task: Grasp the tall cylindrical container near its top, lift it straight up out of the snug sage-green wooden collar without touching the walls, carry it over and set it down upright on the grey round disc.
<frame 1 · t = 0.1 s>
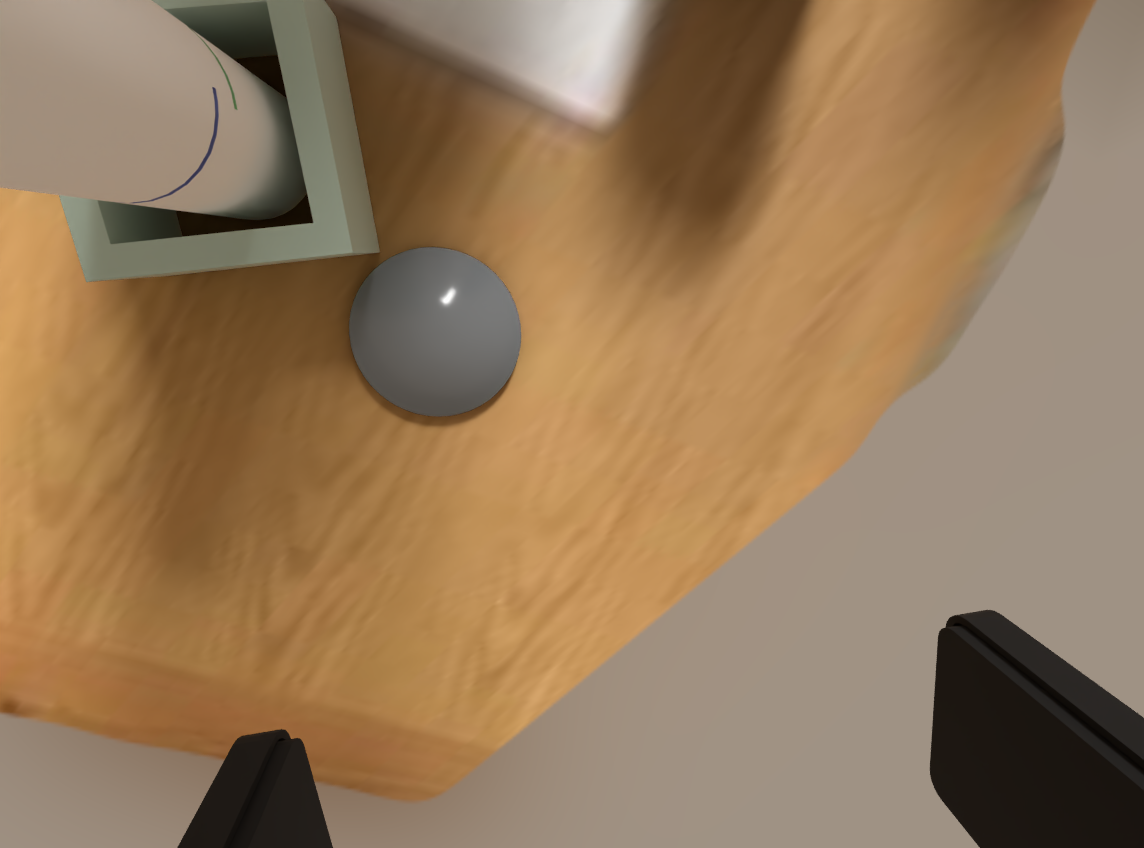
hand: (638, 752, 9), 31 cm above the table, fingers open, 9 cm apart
collar: (247, 151, 34), on the table
grey round disc: (437, 333, 38), on the table
cylindrical container: (249, 152, 34), resting in collar
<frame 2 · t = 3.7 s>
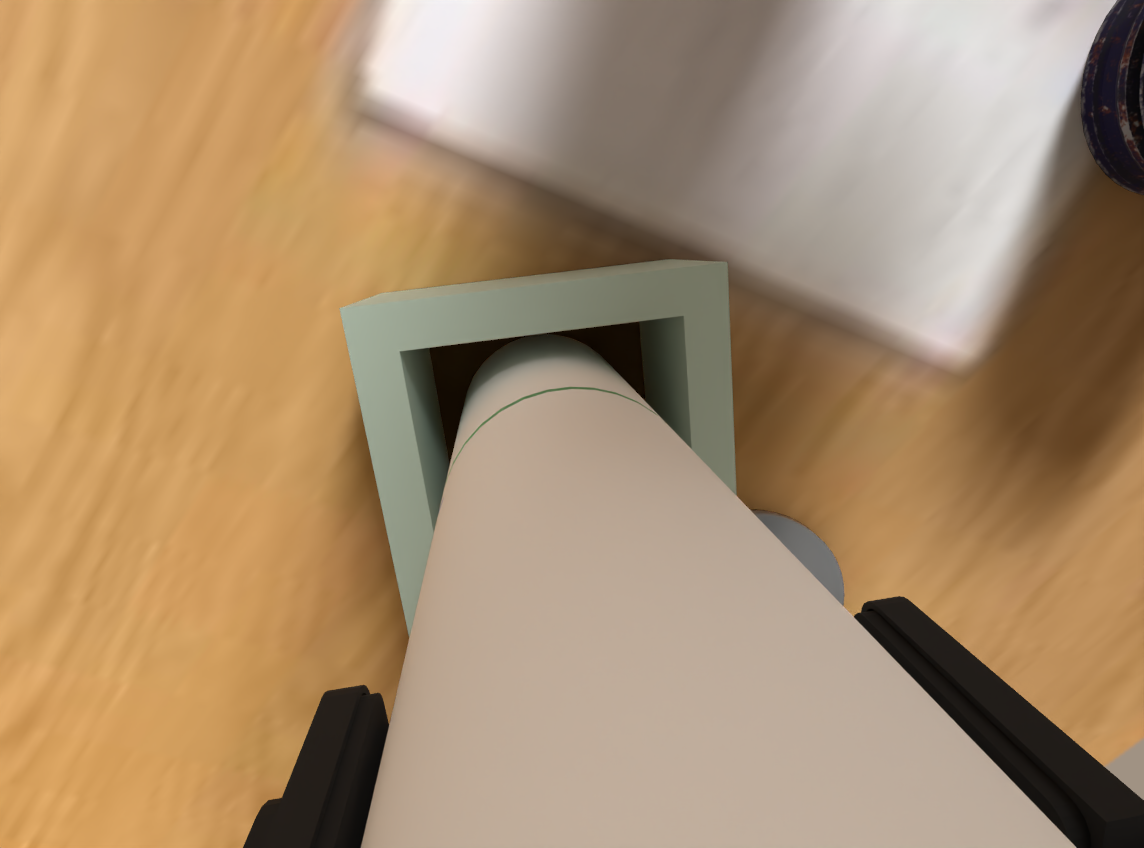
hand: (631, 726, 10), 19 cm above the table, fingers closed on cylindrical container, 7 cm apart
collar: (545, 414, 28), on the table
grey round disc: (740, 602, 31), on the table
cylindrical container: (545, 414, 28), resting in collar, touching gripper
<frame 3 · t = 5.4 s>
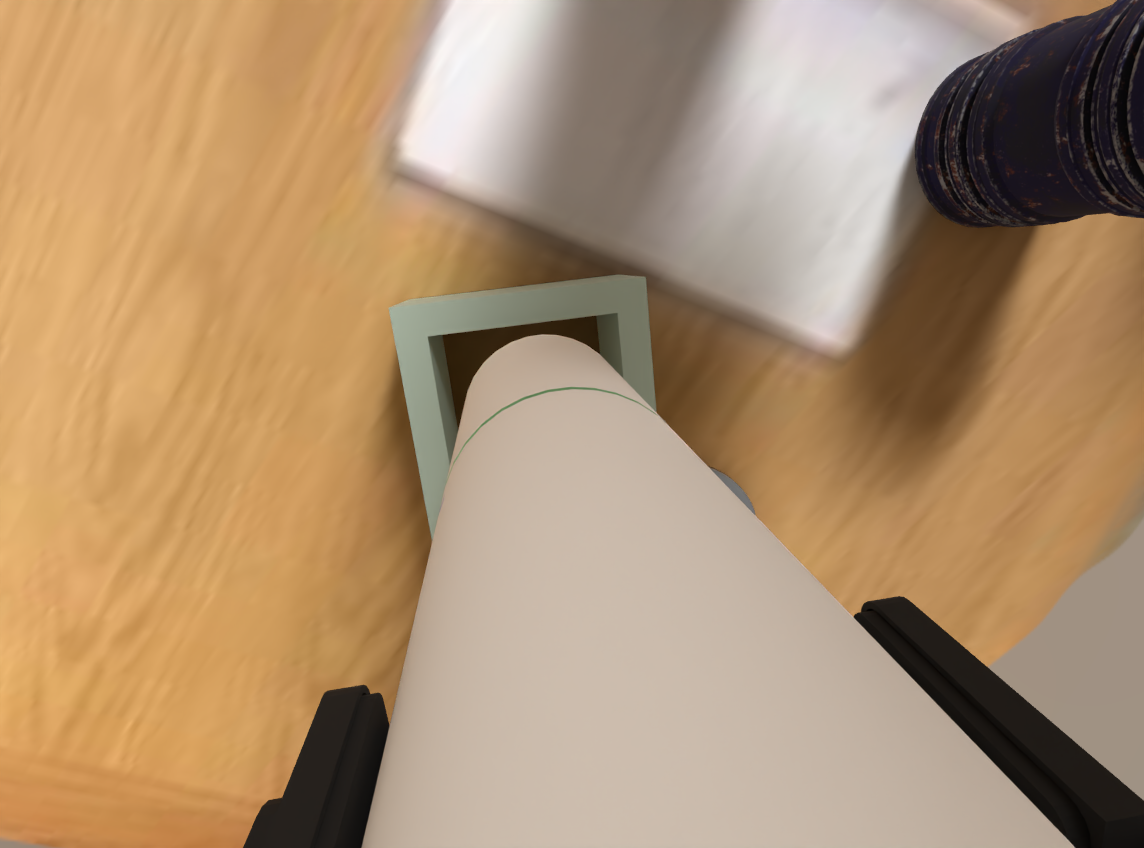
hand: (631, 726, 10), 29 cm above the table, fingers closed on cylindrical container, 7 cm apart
collar: (528, 388, 37), on the table
grey round disc: (679, 535, 41), on the table
cylindrical container: (545, 414, 28), point 10 cm above the table, touching gripper
storage jar: (989, 143, 37), on the table
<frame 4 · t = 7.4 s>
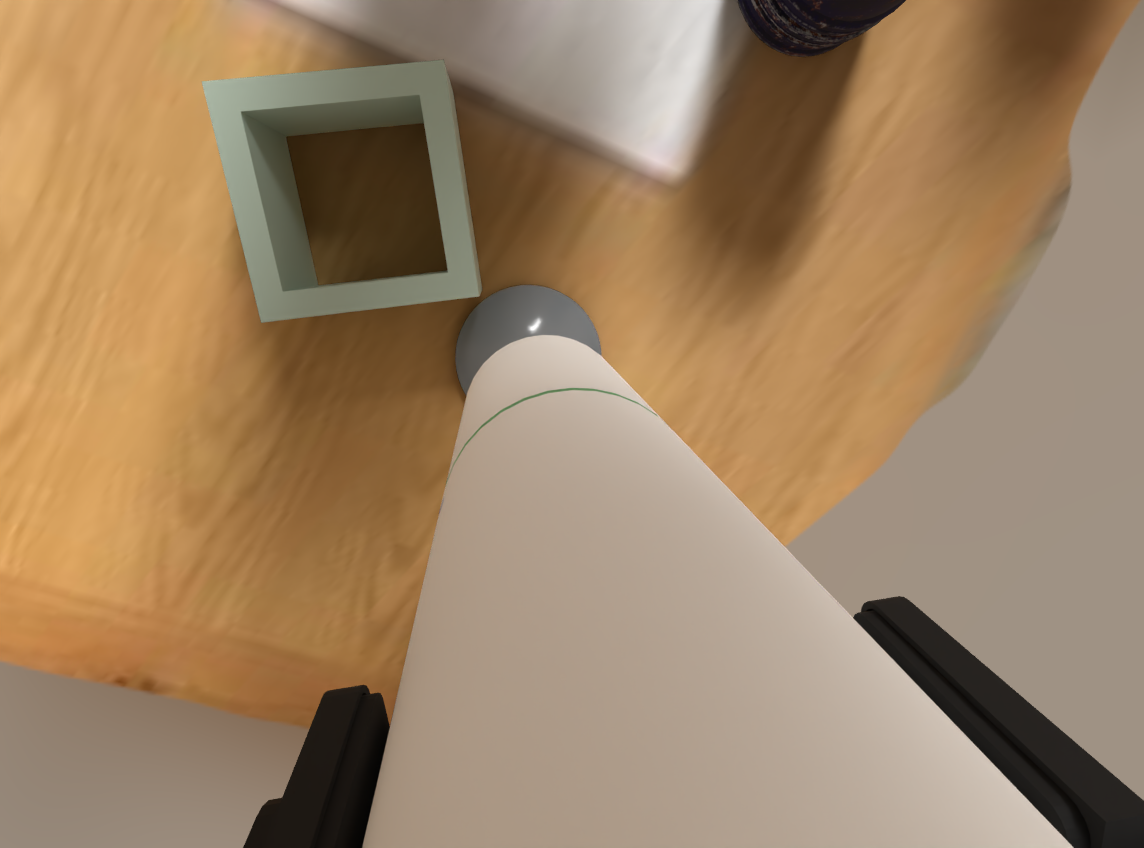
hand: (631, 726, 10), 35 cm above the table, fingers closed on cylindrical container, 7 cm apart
collar: (374, 205, 40), on the table
grey round disc: (528, 358, 44), on the table
cylindrical container: (545, 414, 28), point 16 cm above the table, touching gripper
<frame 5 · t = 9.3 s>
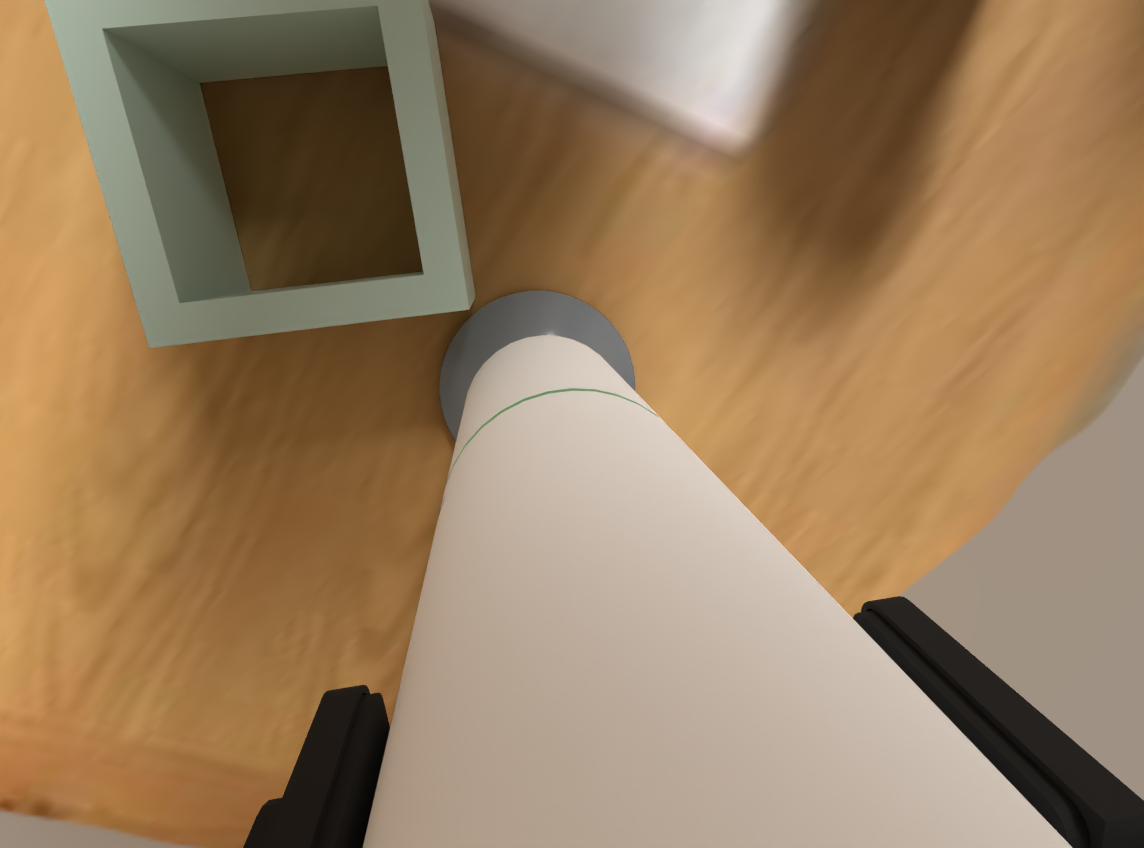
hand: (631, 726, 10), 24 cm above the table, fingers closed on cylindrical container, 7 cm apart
collar: (326, 181, 29), on the table
grey round disc: (538, 387, 33), on the table
cylindrical container: (545, 415, 28), point 5 cm above the table, touching gripper
when the fingers open (20 cm above the table, at t = 11.2 s): cylindrical container stays where it is, resting on grey round disc.
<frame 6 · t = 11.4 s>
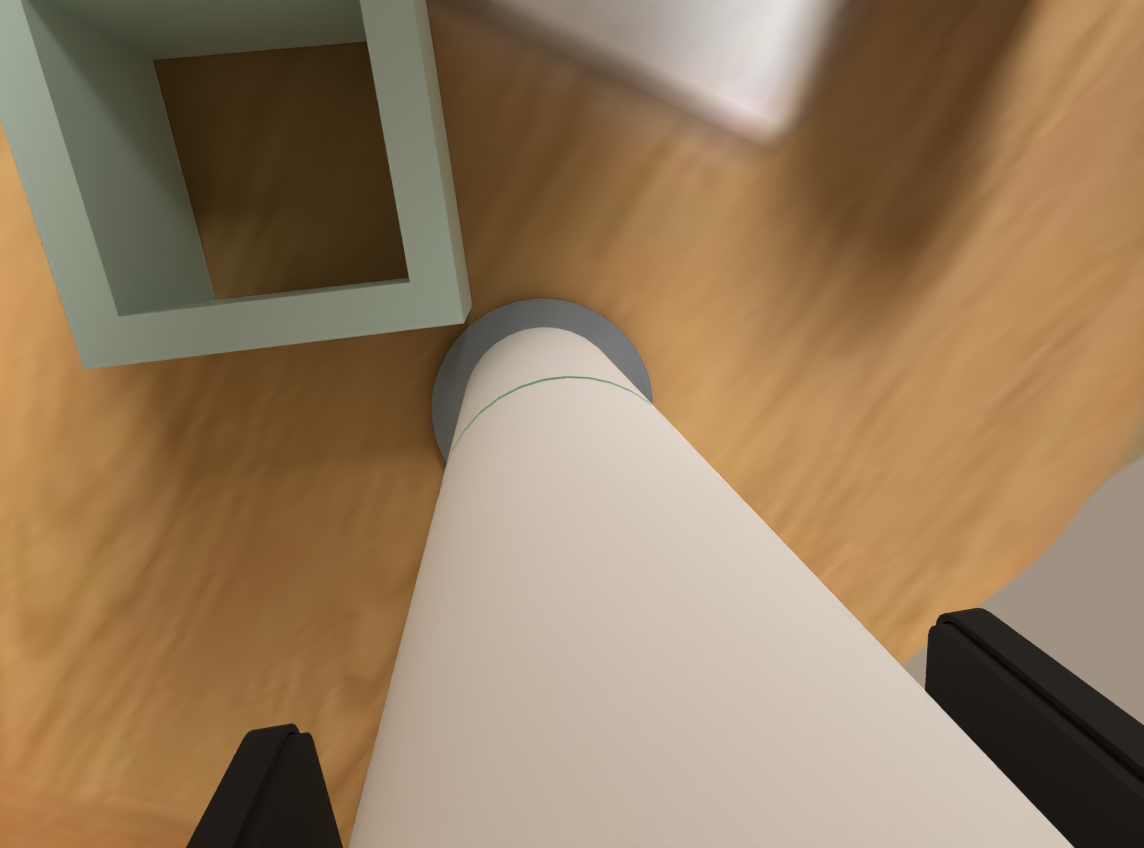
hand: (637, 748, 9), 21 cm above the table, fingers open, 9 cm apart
collar: (301, 174, 25), on the table
grey round disc: (542, 407, 29), on the table
cylindrical container: (544, 405, 28), point 1 cm above the table, touching grey round disc
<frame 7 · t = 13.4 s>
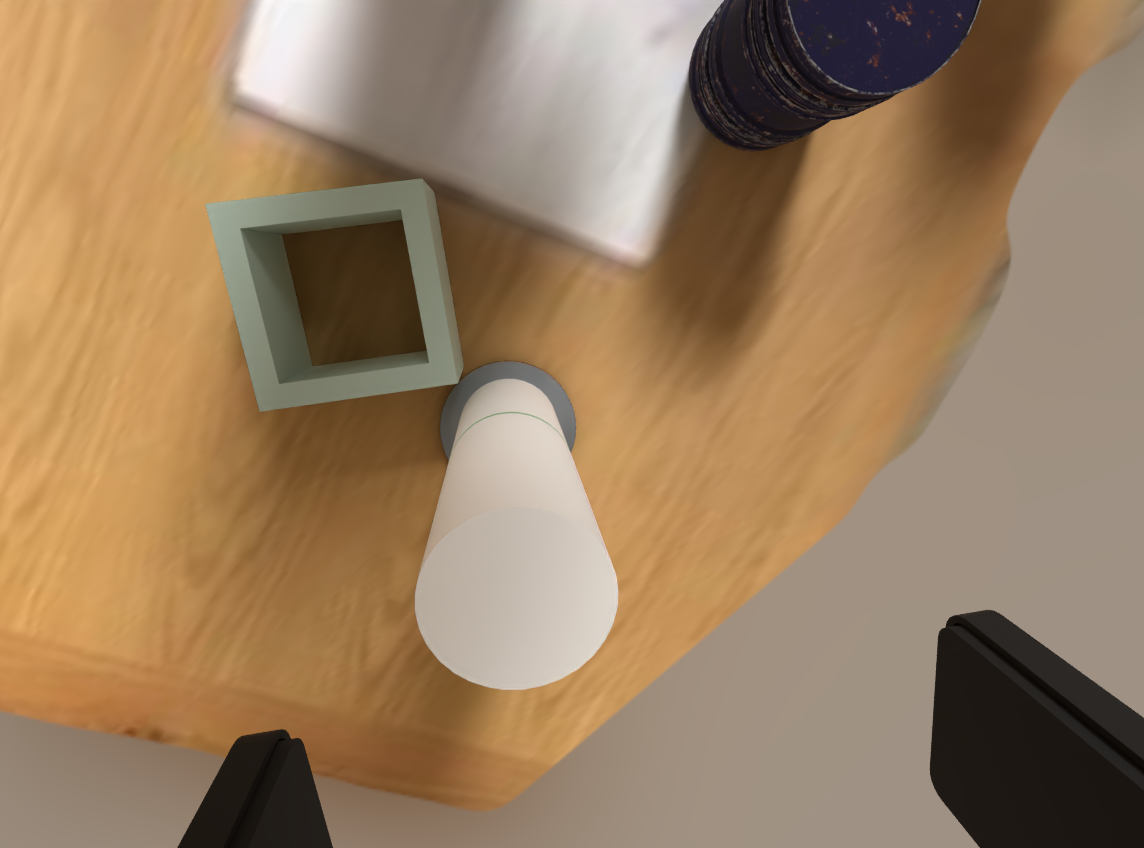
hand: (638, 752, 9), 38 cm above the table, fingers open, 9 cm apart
collar: (363, 293, 43), on the table
grey round disc: (508, 426, 47), on the table
cylindrical container: (508, 425, 46), point 1 cm above the table, touching grey round disc
storage jar: (756, 76, 43), on the table
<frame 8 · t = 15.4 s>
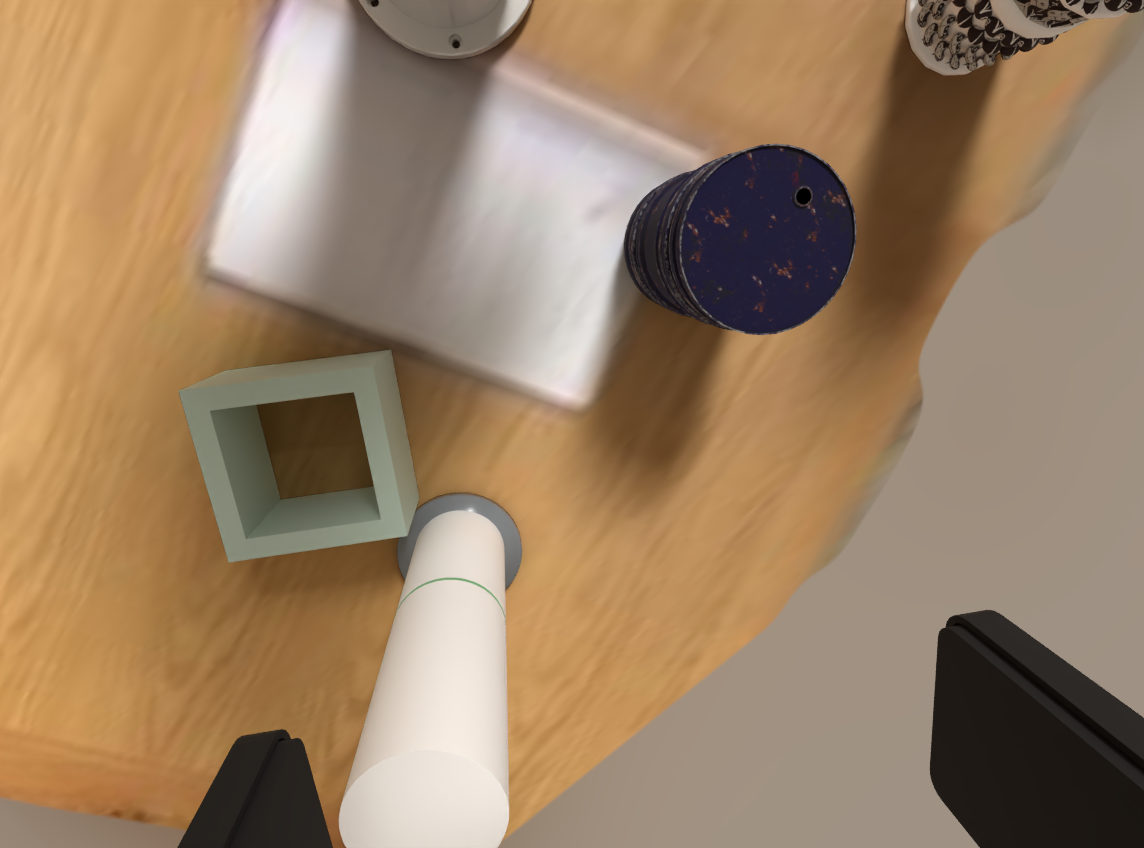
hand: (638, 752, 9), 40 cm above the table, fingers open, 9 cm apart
collar: (326, 436, 48), on the table
decorative candle: (959, 11, 45), on the table
grey round disc: (460, 549, 51), on the table
cylindrical container: (460, 549, 51), point 1 cm above the table, touching grey round disc
storage jar: (686, 245, 47), on the table
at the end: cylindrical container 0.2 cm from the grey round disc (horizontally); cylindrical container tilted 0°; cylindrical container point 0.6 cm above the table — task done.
